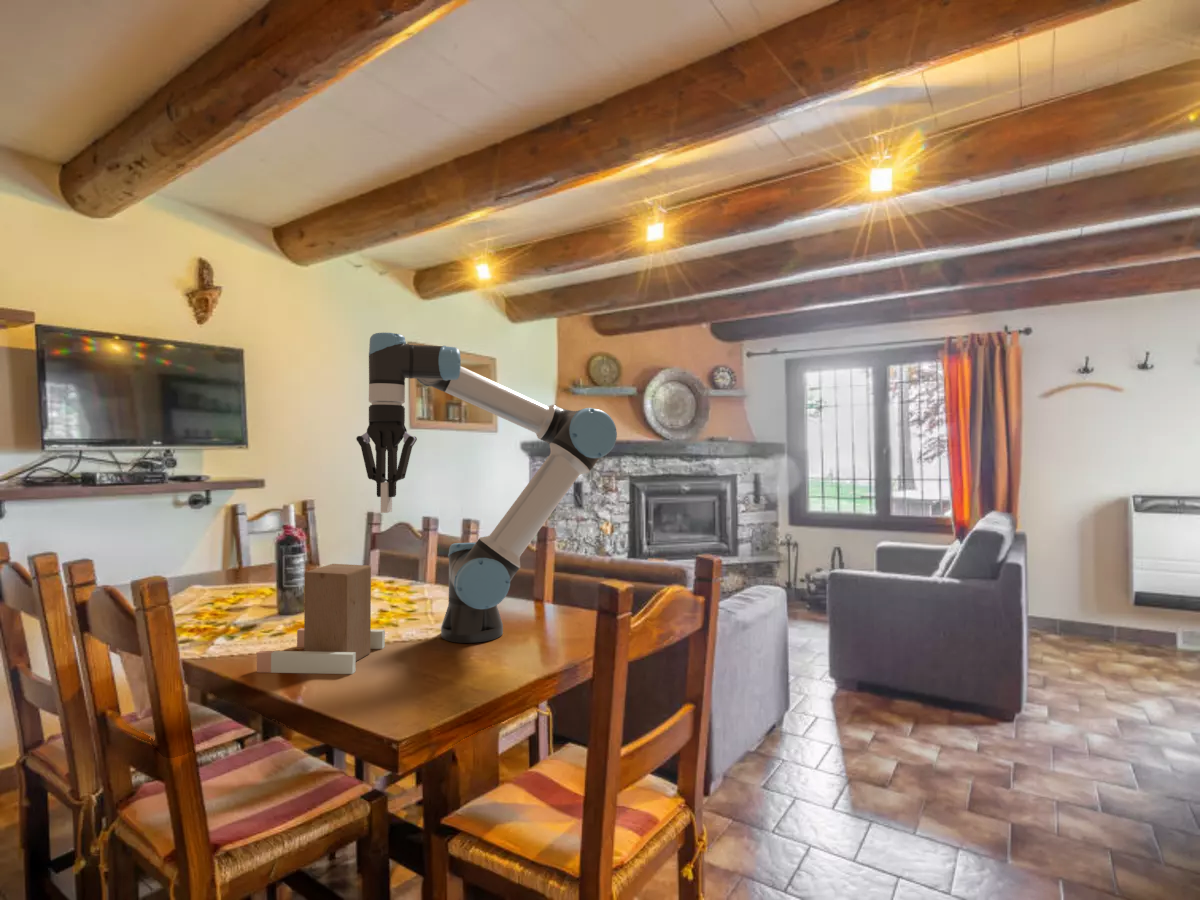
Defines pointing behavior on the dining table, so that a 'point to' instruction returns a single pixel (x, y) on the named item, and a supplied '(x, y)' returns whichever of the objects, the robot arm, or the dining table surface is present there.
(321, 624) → the wooden block
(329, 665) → the white bars
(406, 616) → the dining table surface
